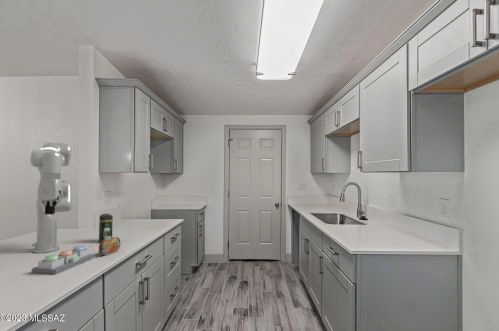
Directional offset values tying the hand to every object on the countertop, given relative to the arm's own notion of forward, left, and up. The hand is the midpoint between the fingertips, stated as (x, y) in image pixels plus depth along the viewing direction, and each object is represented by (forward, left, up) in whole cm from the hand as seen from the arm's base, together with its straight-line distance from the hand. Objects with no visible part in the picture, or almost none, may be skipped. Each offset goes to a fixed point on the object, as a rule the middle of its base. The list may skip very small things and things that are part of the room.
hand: (49, 213), depth 134 cm
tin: (+16, +24, -25) cm, 39 cm away
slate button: (+8, +10, -22) cm, 25 cm away
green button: (+8, -6, -22) cm, 24 cm away
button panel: (+8, +2, -25) cm, 26 cm away
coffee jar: (-4, +49, -25) cm, 55 cm away
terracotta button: (+8, +2, -22) cm, 23 cm away
